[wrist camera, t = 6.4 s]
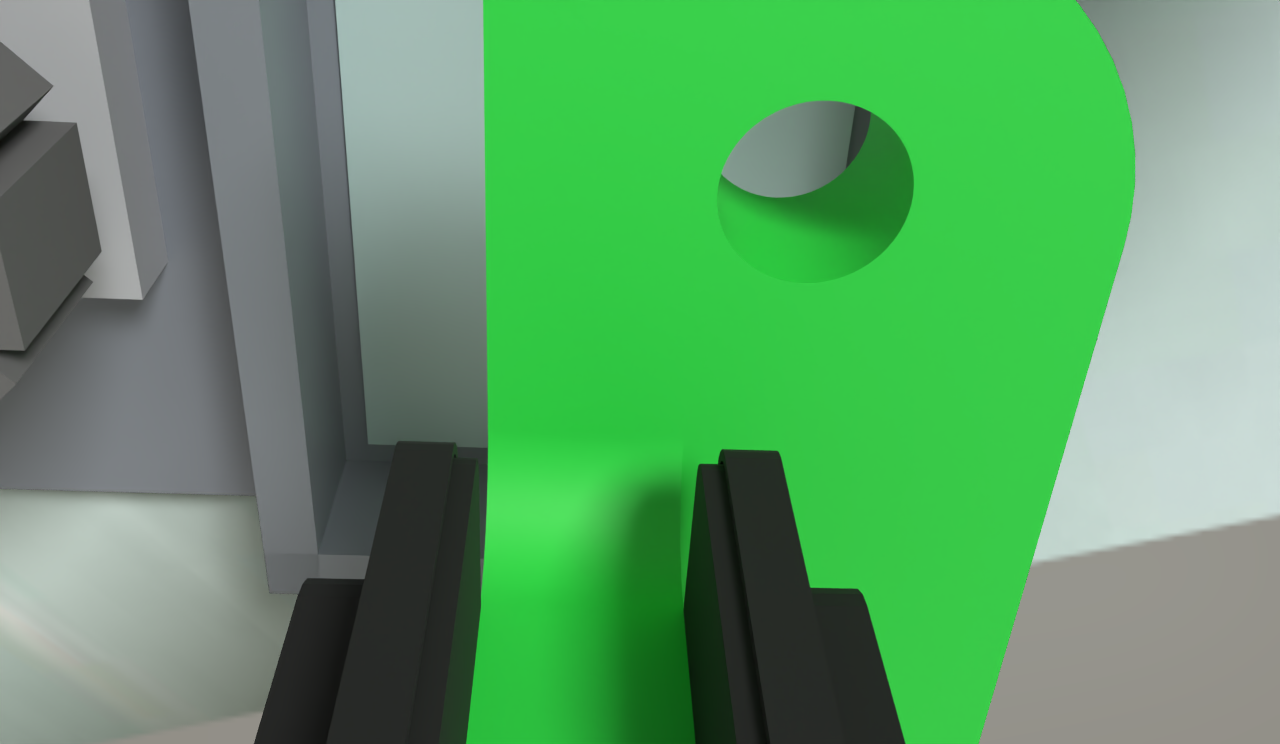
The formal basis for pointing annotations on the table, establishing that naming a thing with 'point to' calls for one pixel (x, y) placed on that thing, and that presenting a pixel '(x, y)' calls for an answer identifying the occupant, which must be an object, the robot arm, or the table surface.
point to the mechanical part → (781, 331)
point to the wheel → (38, 221)
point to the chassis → (287, 254)
